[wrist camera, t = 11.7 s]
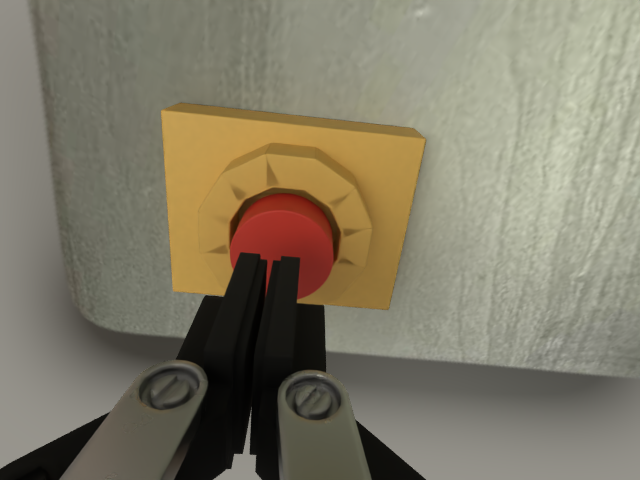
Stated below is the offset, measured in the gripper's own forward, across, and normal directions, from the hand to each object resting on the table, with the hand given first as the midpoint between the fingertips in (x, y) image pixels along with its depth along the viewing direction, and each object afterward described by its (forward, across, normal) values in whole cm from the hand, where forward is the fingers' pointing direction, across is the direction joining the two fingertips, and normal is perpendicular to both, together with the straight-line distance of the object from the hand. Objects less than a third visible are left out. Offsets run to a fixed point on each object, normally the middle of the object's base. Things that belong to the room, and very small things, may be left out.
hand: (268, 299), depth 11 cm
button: (+4, 0, 0) cm, 4 cm away
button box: (+8, 0, 0) cm, 8 cm away
